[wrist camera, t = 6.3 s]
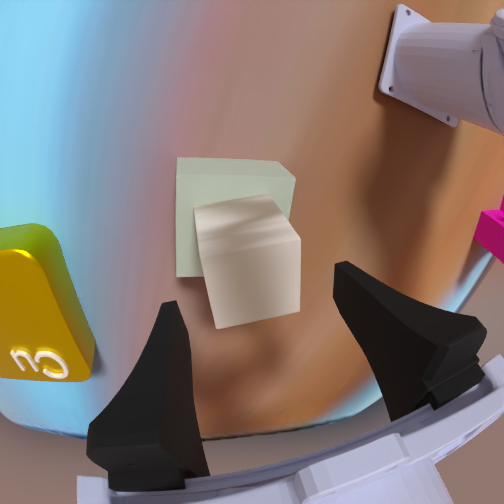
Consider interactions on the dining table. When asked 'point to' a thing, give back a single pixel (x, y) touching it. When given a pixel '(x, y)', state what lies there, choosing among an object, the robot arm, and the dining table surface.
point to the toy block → (492, 231)
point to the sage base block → (221, 196)
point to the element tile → (40, 310)
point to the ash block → (248, 260)
